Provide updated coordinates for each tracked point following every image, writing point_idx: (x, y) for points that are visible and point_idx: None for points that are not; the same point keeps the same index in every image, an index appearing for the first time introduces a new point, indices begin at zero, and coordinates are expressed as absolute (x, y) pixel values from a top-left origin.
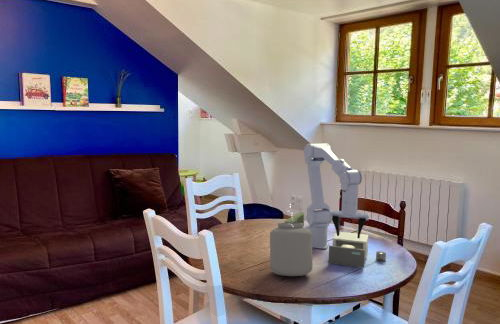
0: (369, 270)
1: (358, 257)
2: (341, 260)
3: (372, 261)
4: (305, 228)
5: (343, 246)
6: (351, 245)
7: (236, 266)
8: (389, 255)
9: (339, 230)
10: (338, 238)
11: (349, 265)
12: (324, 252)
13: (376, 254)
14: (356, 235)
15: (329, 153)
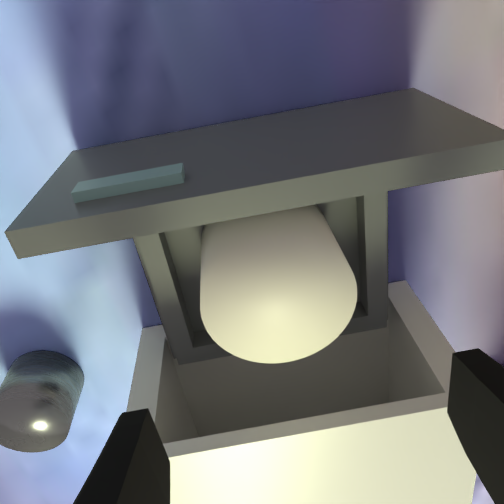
0: (11, 131)
1: (109, 174)
2: (295, 122)
3: (88, 332)
4: None
5: (330, 291)
6: (255, 360)
7: None
8: (43, 471)
9: (481, 478)
10: (424, 419)
11: (209, 127)
12: (472, 318)
13: (60, 399)
14: None
15: None
